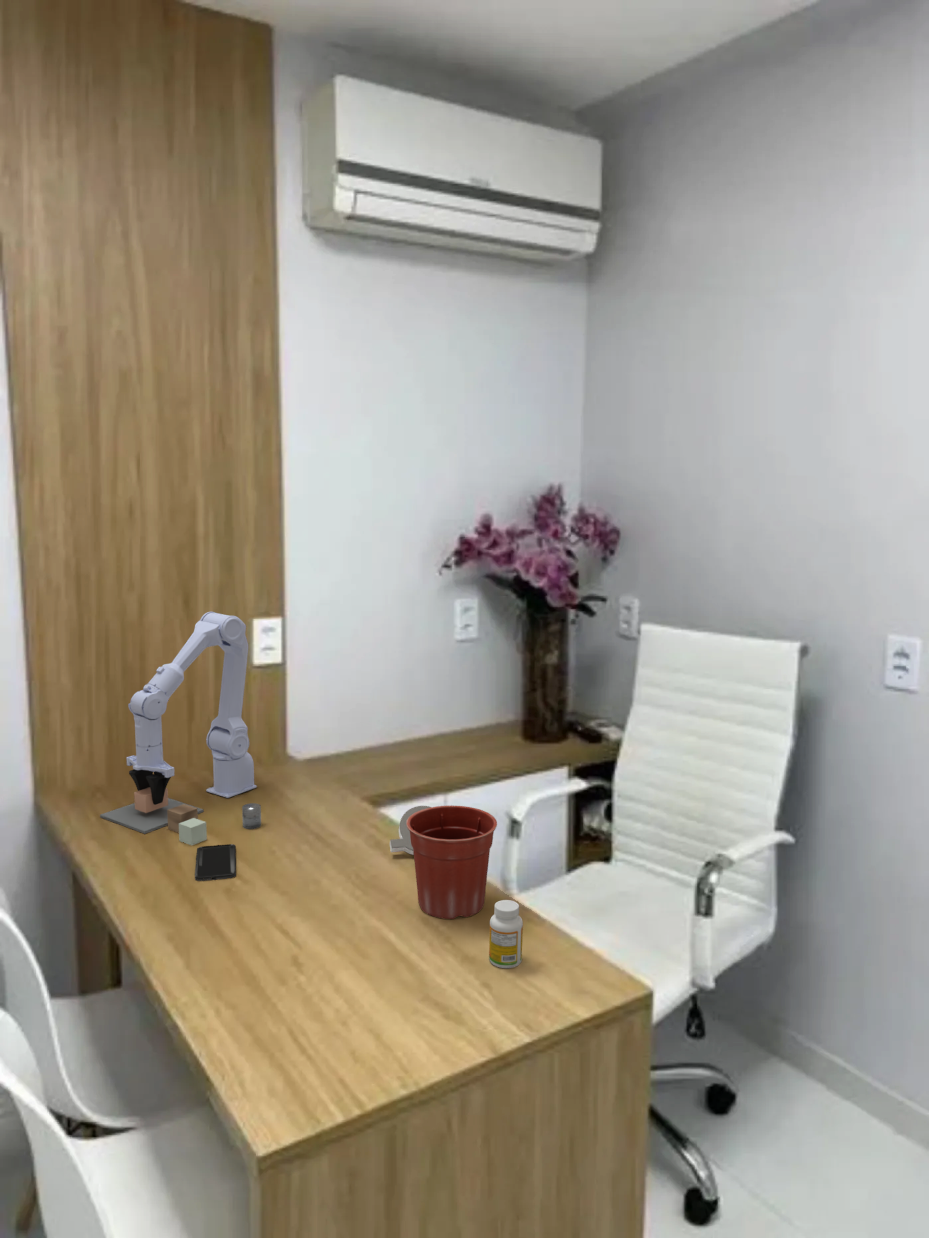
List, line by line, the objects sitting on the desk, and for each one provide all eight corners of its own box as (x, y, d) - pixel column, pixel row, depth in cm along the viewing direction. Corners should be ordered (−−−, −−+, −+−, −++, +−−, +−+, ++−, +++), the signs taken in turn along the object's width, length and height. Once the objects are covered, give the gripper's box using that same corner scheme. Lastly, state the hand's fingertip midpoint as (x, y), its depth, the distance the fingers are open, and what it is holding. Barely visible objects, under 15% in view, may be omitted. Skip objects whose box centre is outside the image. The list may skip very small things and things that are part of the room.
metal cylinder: (252, 821, 211) (251, 801, 210) (264, 825, 209) (264, 805, 208) (238, 826, 207) (238, 807, 207) (251, 830, 205) (250, 811, 205)
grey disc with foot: (393, 859, 190) (388, 804, 194) (387, 865, 197) (383, 811, 201) (464, 853, 193) (459, 799, 197) (457, 859, 200) (451, 806, 204)
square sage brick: (194, 835, 202) (193, 817, 202) (206, 839, 200) (206, 822, 200) (179, 841, 199) (178, 823, 198) (191, 845, 197) (191, 827, 196)
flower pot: (416, 931, 163) (417, 843, 160) (397, 889, 178) (398, 809, 175) (506, 920, 167) (508, 835, 164) (480, 880, 183) (482, 802, 180)
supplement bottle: (502, 948, 157) (503, 894, 155) (528, 959, 154) (530, 904, 152) (482, 961, 153) (483, 905, 151) (508, 973, 150) (510, 916, 148)
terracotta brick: (157, 801, 217) (156, 784, 216) (168, 805, 214) (167, 788, 214) (134, 809, 212) (134, 792, 211) (146, 813, 210) (145, 796, 209)
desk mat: (159, 797, 224) (158, 794, 224) (203, 811, 216) (203, 809, 215) (100, 817, 211) (99, 814, 211) (144, 833, 203) (144, 831, 202)
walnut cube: (184, 823, 209) (183, 804, 208) (198, 827, 207) (197, 808, 206) (168, 829, 205) (167, 809, 205) (181, 834, 203) (180, 814, 202)
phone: (235, 843, 196) (235, 874, 182) (235, 848, 197) (236, 879, 182) (196, 846, 194) (193, 877, 180) (196, 852, 195) (194, 883, 180)
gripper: (113, 741, 212) (116, 799, 214) (154, 753, 203) (157, 813, 206) (140, 734, 217) (142, 790, 220) (181, 746, 209) (183, 804, 211)
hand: (151, 801), depth 213 cm, fingers closed on terracotta brick, 4 cm apart
